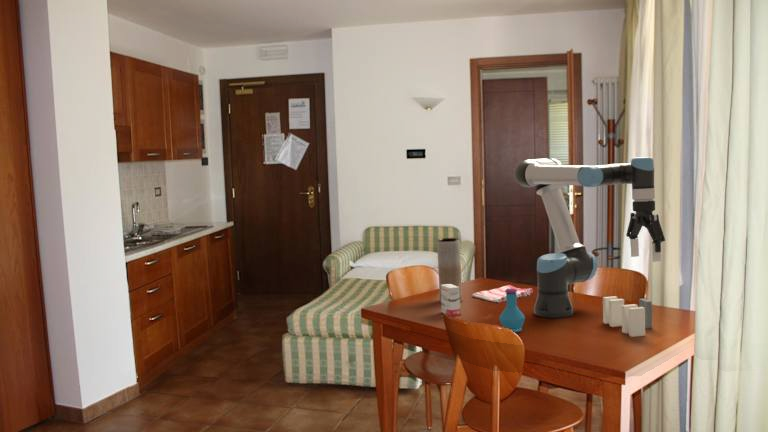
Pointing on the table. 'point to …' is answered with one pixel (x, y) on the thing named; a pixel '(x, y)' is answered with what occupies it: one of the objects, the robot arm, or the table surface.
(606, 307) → the domino head
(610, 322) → the domino
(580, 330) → the table surface
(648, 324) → the domino
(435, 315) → the table surface
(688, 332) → the table surface
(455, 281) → the vase
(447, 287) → the ink box
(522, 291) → the dish towel
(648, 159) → the robot arm
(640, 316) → the domino tail
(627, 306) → the domino
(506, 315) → the perfume bottle
